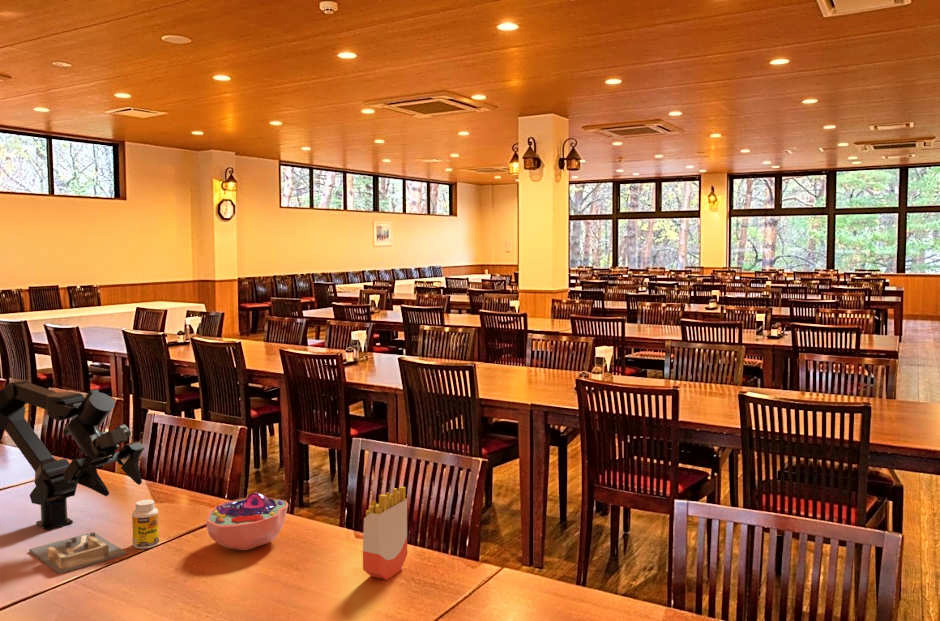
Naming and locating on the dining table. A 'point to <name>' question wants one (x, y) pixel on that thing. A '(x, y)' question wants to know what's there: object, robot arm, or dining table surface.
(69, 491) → the robot arm
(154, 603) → the dining table surface
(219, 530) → the cell model
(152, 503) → the supplement bottle
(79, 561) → the end holder
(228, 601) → the dining table surface
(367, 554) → the french fries container
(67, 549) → the board
